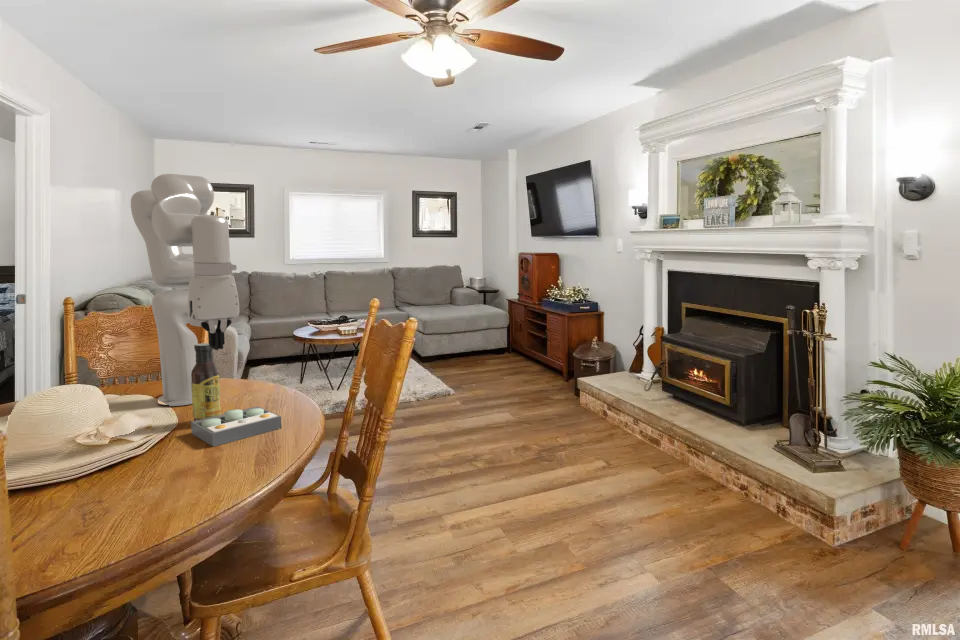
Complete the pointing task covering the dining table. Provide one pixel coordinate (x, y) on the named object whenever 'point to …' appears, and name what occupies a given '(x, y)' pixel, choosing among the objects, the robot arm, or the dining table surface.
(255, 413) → the end button
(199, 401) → the sauce bottle
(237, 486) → the dining table surface
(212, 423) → the end button
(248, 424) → the button board
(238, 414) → the middle button
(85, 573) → the dining table surface
